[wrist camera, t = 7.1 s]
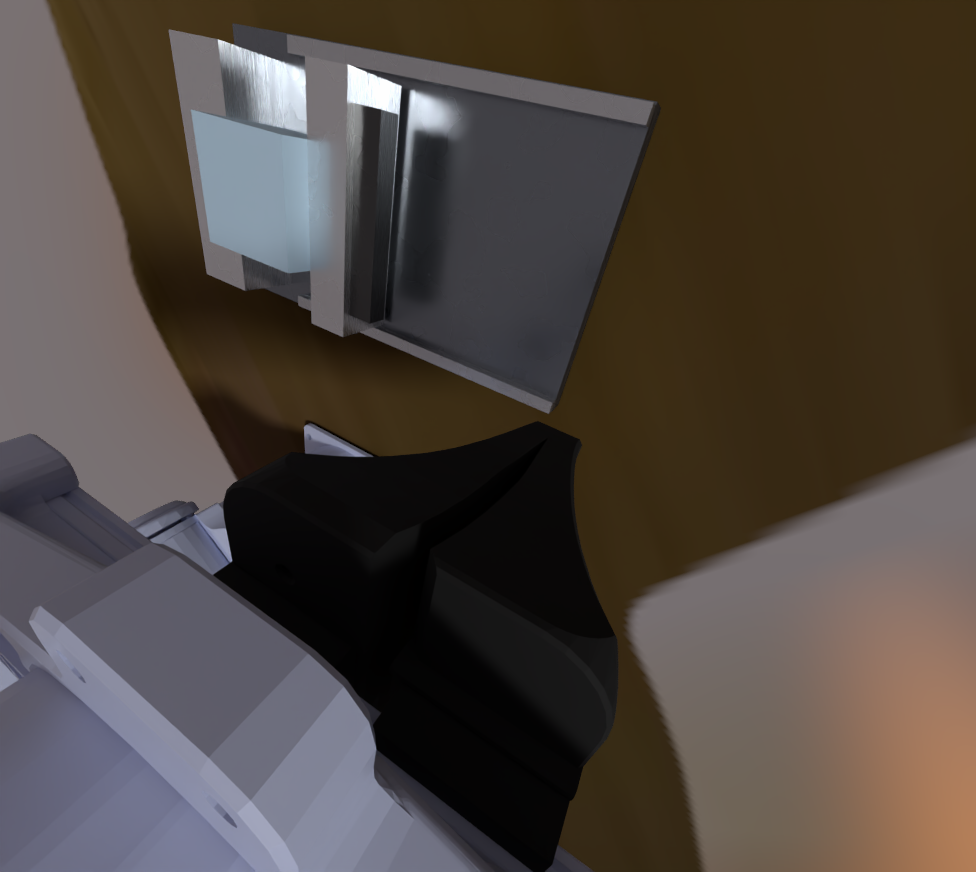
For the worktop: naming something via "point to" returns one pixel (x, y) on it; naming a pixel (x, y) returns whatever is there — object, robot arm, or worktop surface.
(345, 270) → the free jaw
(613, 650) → the robot arm
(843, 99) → the worktop surface
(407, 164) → the vise
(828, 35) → the worktop surface
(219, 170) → the steel block
